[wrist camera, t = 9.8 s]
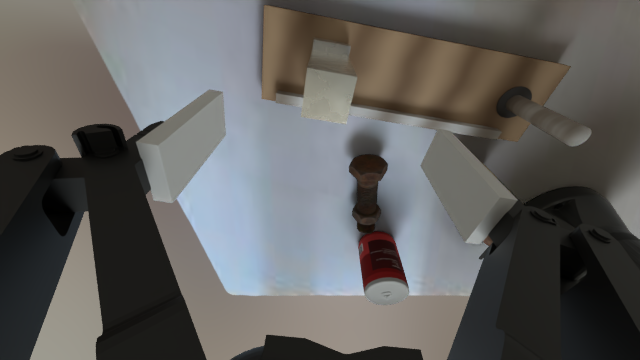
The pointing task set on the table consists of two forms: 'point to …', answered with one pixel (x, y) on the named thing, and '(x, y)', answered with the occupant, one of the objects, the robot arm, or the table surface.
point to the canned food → (382, 269)
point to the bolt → (367, 190)
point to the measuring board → (419, 79)
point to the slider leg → (329, 82)
